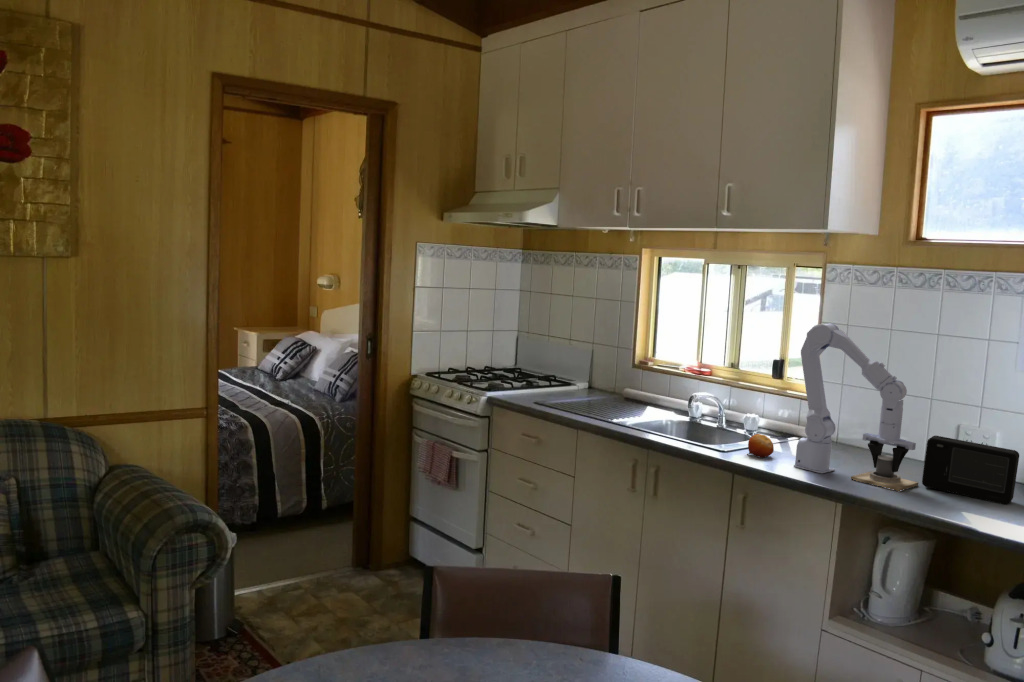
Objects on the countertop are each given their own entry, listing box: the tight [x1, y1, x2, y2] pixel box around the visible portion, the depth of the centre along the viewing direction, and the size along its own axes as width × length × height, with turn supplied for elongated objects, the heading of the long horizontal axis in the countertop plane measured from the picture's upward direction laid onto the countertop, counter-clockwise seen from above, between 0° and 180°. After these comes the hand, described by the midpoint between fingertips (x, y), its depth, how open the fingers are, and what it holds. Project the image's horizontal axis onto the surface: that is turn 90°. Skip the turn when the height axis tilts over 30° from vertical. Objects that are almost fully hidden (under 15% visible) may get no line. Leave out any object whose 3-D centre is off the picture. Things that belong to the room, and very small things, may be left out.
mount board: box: [850, 470, 919, 492], centre depth 244 cm, size 14×12×2 cm
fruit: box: [746, 433, 774, 459], centre depth 269 cm, size 8×8×8 cm
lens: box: [875, 454, 895, 478], centre depth 243 cm, size 5×5×6 cm
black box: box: [921, 435, 1020, 505], centre depth 236 cm, size 23×10×15 cm, turn 50°
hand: (885, 469), depth 244 cm, fingers closed on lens, 5 cm apart
